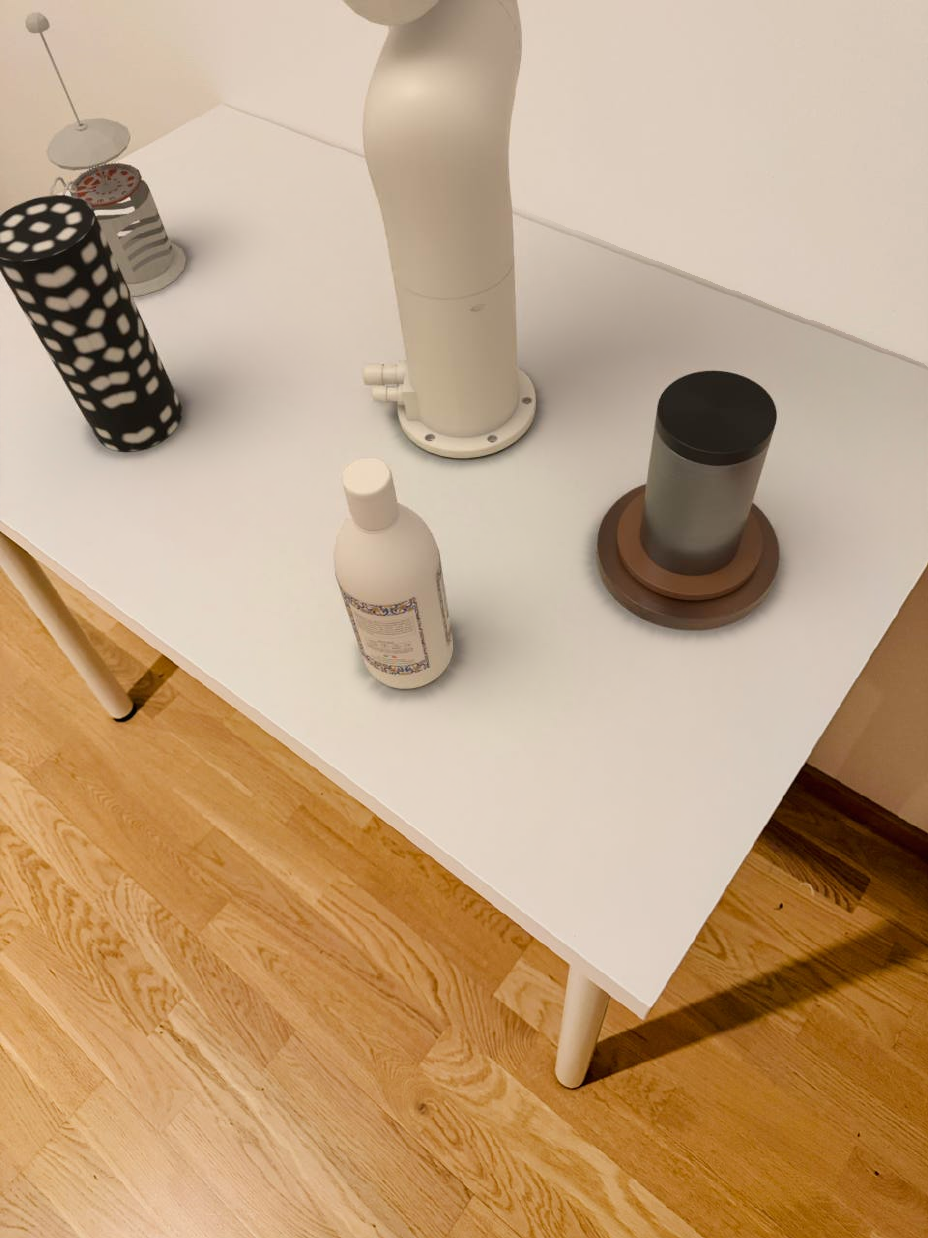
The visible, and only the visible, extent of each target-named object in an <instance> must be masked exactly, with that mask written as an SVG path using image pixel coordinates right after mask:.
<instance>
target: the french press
mask: <svg viewBox="0 0 928 1238" xmlns="http://www.w3.org/2000/svg"><path fill="white" fill-rule="evenodd" d="M24 22H25V28H26V29H27V31H28V33H30V34H39V35H40V37H41V40H42V42H43V45H44V46H45V49H46V51H47V53H48V56H49V58H50V60H51V64H52V65H53V68H54V70H55V72H56V74H57V77H58V80H59V81H60V84H61V87H62V88H63V91H64V93H65V95H66V98H67V100H68V102H69V105H70V107H71V109H72V112H73V114H74V116H75V119H76V121H75V122H72V123H69V124H67V125H65V126H64V127H63V128H62V129H61V130H60V131H59V132H56V134H55V135H54V136H53V137H52V139H51V140H50V142H49V144H48V146H47V148H46V150H45V153H46V156H47V158H48V160H49V161H50V163H52V164H54V165H55V166H56V167H58V168H60V169H63V170H67V171H73V172H74V171H82V170H85V171H84V172H81V173H80V174H79V175H78V177H76V178H75V179H74V180H70V181H68V182H67V183H66V182H65V180H64V178H63V177H61V176H58V177H56V178H55V179H54V181H53V183H52V184H51V187H50V190H49V196H52V195H54V189H55V187H56V185H57V183H58V181H60V182H61V183H62V185H63V188H64V189H63V191H62V194H61V195H66V193H67V191H68V192H69V193H70V196H73V197H77V198H80V199H82V200H84V201H86V202H87V203H88V204H89V205H90V206H91V207H92V208H93V211H94V212H95V211H116V210H125V209H129V208H133V209H134V210H133V211H131V212H128V213H120V214H98V215H96V217H97V220H98V222H99V224H100V226H101V228H102V231H103V233H104V235H105V237H106V240H107V242H108V244H109V246H110V248H111V251H112V253H113V255H114V257H115V260H116V262H117V264H118V266H119V268H120V271H121V273H122V275H123V277H124V279H125V282H126V284H127V286H128V288H129V291H130V293H131V295H132V297H137V296H138V297H139V296H140V297H141V296H145V295H148V294H151V293H153V292H154V293H155V292H157V291H160V290H162V289H164V288H165V287H166V286H168V285H170V284H171V283H173V282H175V281H176V280H177V278H178V277H179V276H180V275H181V274H182V273H183V272H184V270H185V267H186V262H187V256H186V255H185V252H184V250H183V248H181V247H180V246H178V245H176V244H175V243H174V242H172V241H170V238H169V236H168V234H167V231H166V228H165V225H164V224H163V220H162V218H161V215H160V213H159V210H158V209H159V208H158V207H157V205H156V202H155V200H154V199H155V198H154V197H153V194H152V192H151V190H150V187H149V185H148V184H147V182H146V181H145V180H144V179H143V176H142V174H141V172H140V170H139V169H138V168H136V167H135V166H133V165H131V164H128V163H127V164H125V163H120V162H118V163H117V162H114V163H113V162H112V163H109V162H111V161H113V160H115V159H117V158H119V157H120V156H121V154H122V153H124V151H126V150H127V148H128V146H129V144H130V140H131V133H130V131H129V129H128V127H127V126H126V125H124V124H122V123H120V122H119V121H116V120H111V119H108V118H102V117H100V118H85V119H80V118H79V116H78V114H77V111H76V109H75V107H74V104H73V102H72V99H71V97H70V95H69V93H68V90H67V88H66V86H65V83H64V80H63V78H62V76H61V73H60V72H59V71H60V70H59V69H58V67H57V65H56V62H55V60H54V57H53V55H52V52H51V50H50V47H49V45H48V44H47V41H46V38H45V36H44V32H45V31H46V32H47V31H48V30H49V29H50V27H51V25H50V22H49V19H48V18H47V17H46V16H45V15H44V14H42V13H41V12H30V13H29V14H27V16H26V18H25V21H24ZM127 199H130V200H127ZM125 200H127V201H125ZM120 232H121V233H122V232H128V233H126V234H125V235H118V234H119V233H120Z"/></svg>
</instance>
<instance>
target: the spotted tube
mask: <svg viewBox="0 0 928 1238" xmlns="http://www.w3.org/2000/svg"><path fill="white" fill-rule="evenodd" d="M96 216H97V215H96V212H95V211H93V208H92V207H91V206H90V205H89V204H88V203H87V202H86V201H84V200H82V199H80V198H77V197H73V196H71V195H66V194H65V195H62V194H53V195H52V196H50V195H45V196H40V197H34V198H32V199H29V200H26V201H23V202H20V203H19V204H16V205H14V206H12V207H10V208H9V209H7V210H5V211H4V212H3V213H1V214H0V274H1V275H2V277H3V279H4V280H5V282H6V284H7V286H8V287H9V289H10V291H11V293H12V294H13V296H14V298H15V300H16V301H17V303H18V305H19V306H20V308H21V310H22V312H23V314H24V316H25V317H26V318H27V320H28V322H29V324H30V326H31V327H32V329H33V331H34V333H35V335H36V336H37V337H38V339H39V341H40V343H41V345H42V346H43V349H44V350H45V351H46V353H47V355H48V357H49V359H50V360H51V362H52V363H53V365H54V367H55V369H56V371H57V372H58V373H59V375H60V378H61V379H62V381H63V382H64V385H65V386H66V387H67V390H68V391H69V392H70V395H71V396H72V398H73V399H74V401H75V403H76V405H77V407H78V408H79V410H80V412H81V414H82V415H83V417H84V419H85V420H86V422H87V424H88V425H89V427H90V429H91V431H92V433H93V434H94V436H95V437H96V439H97V440H98V442H99V443H100V444H101V445H103V446H104V447H105V448H107V449H110V450H111V451H117V452H125V453H131V452H138V451H142V450H146V449H149V448H151V447H154V446H155V445H158V444H161V442H163V441H164V440H166V439H167V438H169V437H170V435H171V434H173V432H174V431H175V430H177V428H178V426H179V424H180V422H181V419H182V415H183V407H182V404H181V402H180V400H179V398H178V395H177V393H176V391H175V389H174V386H173V384H172V382H171V379H170V377H169V375H168V373H167V371H166V368H165V366H164V363H163V362H162V359H161V357H160V355H159V353H158V351H157V349H156V346H155V344H154V342H153V340H152V337H151V335H150V332H149V331H148V329H147V326H146V324H145V322H144V320H143V318H142V315H141V313H140V311H139V309H138V307H137V303H136V302H135V299H134V298H133V297H134V296H132V295H131V293H130V291H129V288H128V286H127V284H126V282H125V279H124V277H123V275H122V273H121V271H120V268H119V266H118V264H117V262H116V260H115V257H114V255H113V253H112V251H111V248H110V246H109V244H108V242H107V240H106V237H105V235H104V233H103V231H102V228H101V226H100V224H99V222H98V220H97V217H96Z"/></svg>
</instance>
